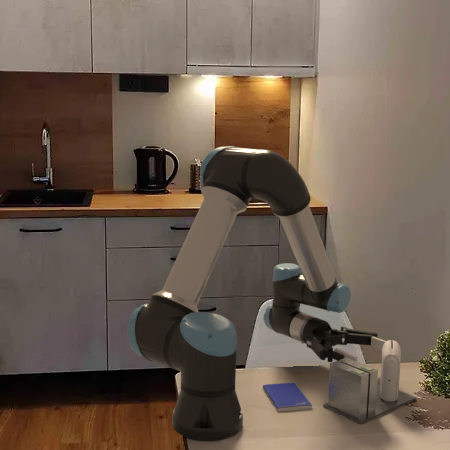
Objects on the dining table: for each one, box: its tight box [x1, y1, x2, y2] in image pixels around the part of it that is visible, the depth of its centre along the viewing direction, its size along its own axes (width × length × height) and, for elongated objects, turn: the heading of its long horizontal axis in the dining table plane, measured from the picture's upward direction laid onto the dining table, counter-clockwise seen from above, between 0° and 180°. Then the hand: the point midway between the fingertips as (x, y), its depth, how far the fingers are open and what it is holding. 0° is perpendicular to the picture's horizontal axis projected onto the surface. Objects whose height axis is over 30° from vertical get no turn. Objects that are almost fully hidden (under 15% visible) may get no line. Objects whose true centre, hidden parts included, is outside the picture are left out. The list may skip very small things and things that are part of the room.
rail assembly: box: [322, 358, 417, 425], centre depth 164 cm, size 20×11×11 cm, turn 130°
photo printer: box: [379, 339, 402, 402], centre depth 168 cm, size 10×4×12 cm, turn 168°
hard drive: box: [262, 382, 313, 412], centre depth 167 cm, size 2×8×12 cm
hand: (374, 355), depth 172 cm, fingers open, 13 cm apart
